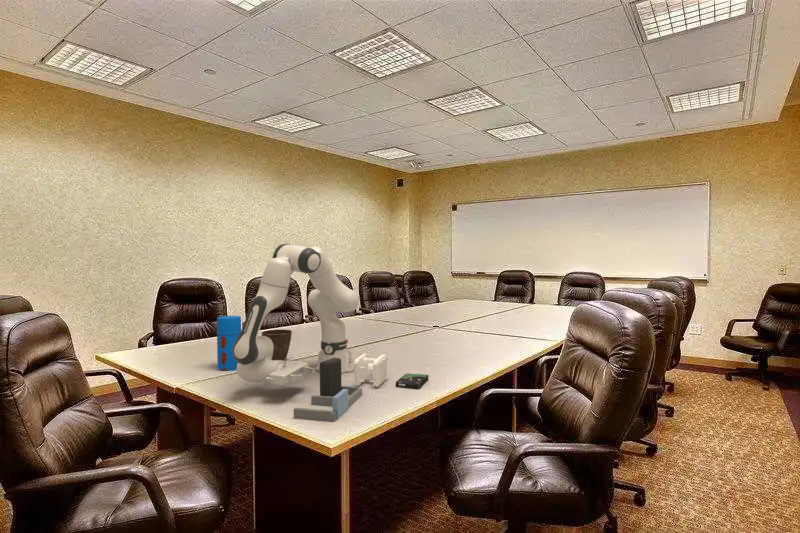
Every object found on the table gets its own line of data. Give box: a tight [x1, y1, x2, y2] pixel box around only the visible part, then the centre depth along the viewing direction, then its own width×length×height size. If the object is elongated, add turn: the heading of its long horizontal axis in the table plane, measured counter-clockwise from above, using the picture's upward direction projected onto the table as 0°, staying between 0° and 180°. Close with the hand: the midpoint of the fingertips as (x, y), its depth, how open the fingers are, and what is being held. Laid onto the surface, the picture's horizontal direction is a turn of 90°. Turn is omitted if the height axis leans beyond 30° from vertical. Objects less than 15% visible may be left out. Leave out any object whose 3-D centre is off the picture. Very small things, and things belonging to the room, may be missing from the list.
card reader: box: [319, 358, 342, 397], centre depth 164 cm, size 9×4×15 cm, turn 149°
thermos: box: [216, 315, 242, 372], centre depth 210 cm, size 11×11×25 cm
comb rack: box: [293, 385, 363, 423], centre depth 157 cm, size 28×15×7 cm, turn 166°
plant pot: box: [261, 329, 293, 360], centre depth 220 cm, size 15×15×16 cm
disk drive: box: [395, 372, 429, 390], centre depth 184 cm, size 10×3×15 cm
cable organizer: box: [353, 352, 389, 388], centre depth 184 cm, size 15×11×12 cm
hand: (308, 374), depth 166 cm, fingers open, 8 cm apart
